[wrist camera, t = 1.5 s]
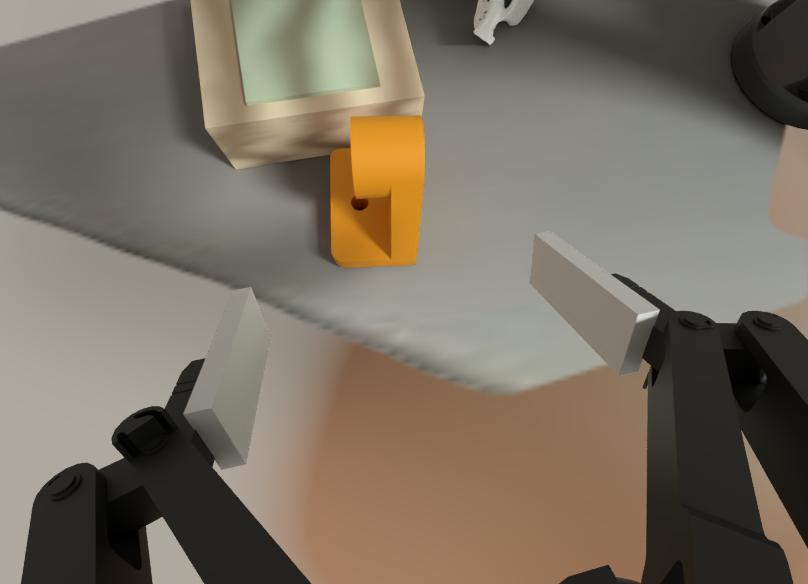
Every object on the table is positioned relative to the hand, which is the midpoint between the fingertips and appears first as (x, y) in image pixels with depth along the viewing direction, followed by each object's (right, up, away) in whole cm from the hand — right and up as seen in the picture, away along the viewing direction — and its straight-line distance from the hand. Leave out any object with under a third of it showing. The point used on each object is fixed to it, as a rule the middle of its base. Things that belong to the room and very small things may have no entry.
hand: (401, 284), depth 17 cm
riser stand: (-9, +21, +20) cm, 30 cm away
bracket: (-3, +7, +18) cm, 19 cm away
